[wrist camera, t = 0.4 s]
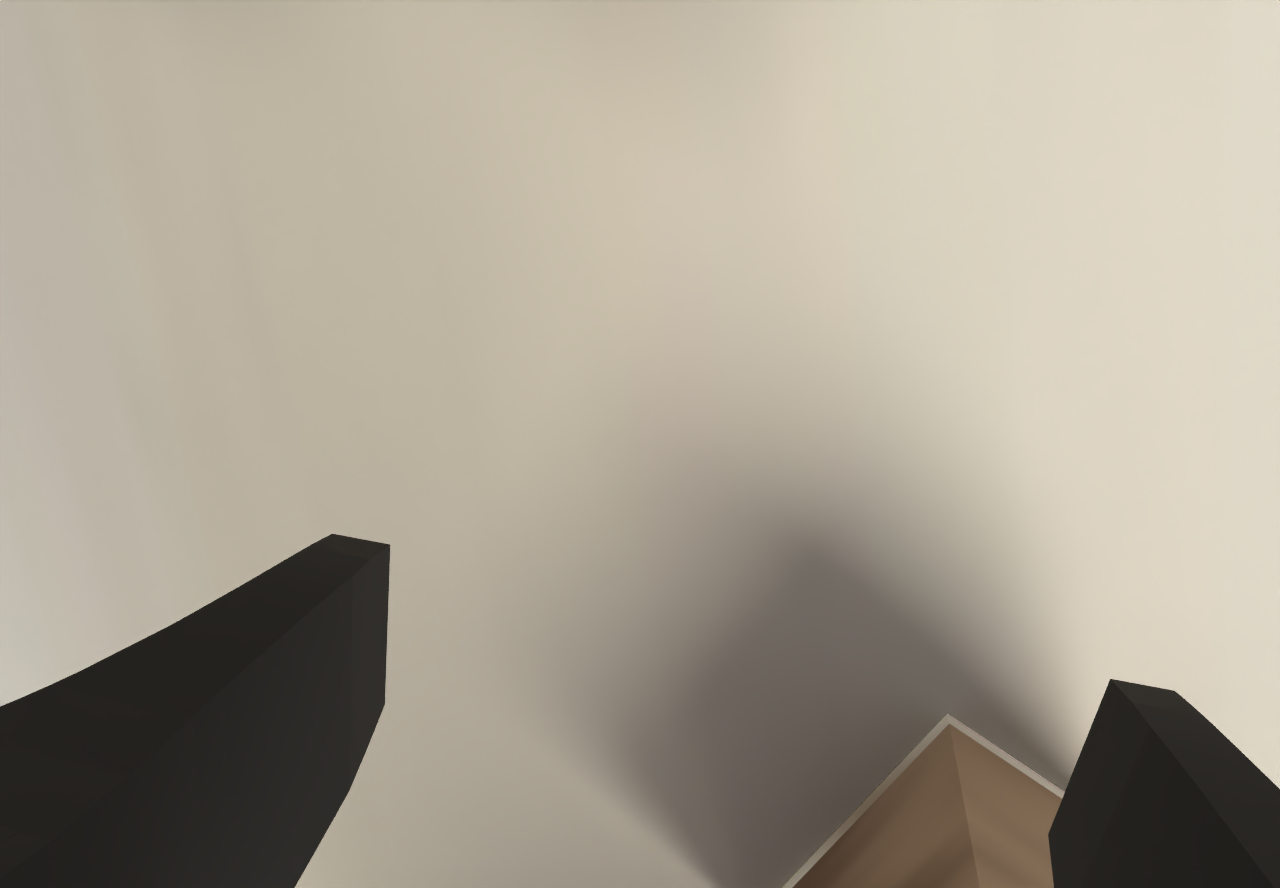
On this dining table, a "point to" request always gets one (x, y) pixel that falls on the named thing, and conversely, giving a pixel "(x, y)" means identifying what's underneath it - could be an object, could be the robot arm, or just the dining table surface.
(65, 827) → the robot arm
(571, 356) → the dining table surface
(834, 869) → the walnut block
